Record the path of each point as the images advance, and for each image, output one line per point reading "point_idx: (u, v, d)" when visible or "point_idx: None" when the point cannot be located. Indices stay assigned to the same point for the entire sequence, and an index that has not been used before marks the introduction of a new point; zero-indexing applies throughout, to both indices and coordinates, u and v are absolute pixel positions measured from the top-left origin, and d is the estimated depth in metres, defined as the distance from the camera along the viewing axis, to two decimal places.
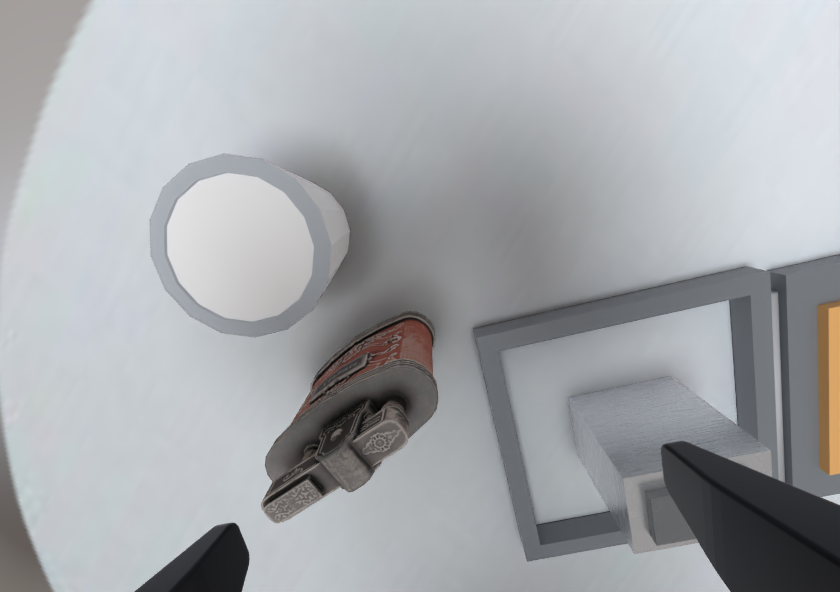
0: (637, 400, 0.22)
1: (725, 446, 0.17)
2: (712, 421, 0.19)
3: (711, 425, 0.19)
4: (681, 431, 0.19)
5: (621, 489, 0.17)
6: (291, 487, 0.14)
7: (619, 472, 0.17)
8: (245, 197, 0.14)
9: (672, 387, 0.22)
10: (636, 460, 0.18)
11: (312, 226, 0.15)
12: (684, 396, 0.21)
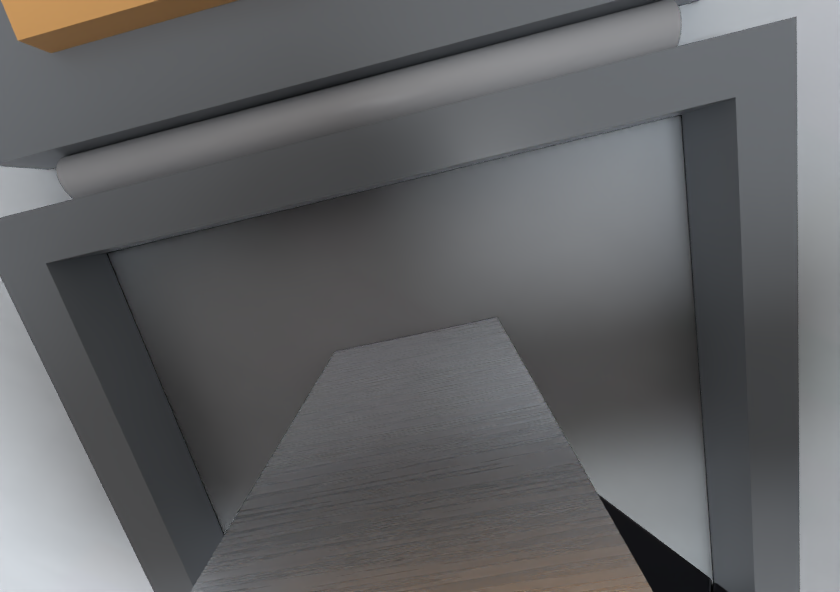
0: None
1: None
2: None
3: None
4: None
5: None
6: None
7: None
8: None
9: None
10: None
11: None
12: None
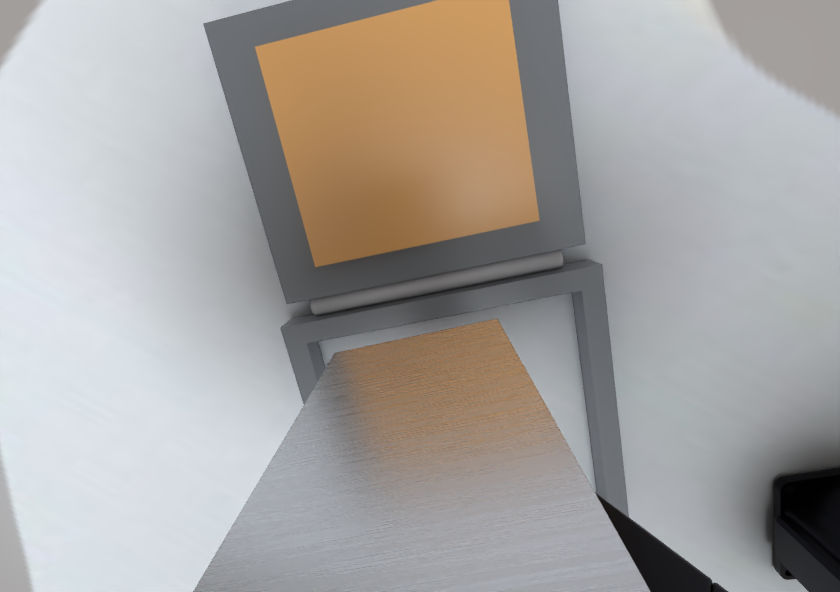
0: None
1: None
2: None
3: None
4: None
5: None
6: None
7: None
8: None
9: None
10: None
11: None
12: None
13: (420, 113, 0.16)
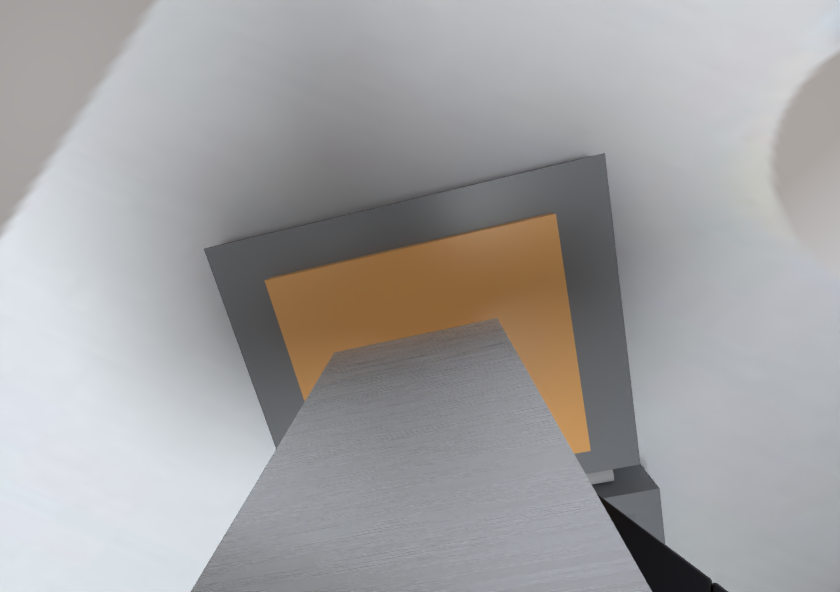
0: None
1: None
2: None
3: None
4: None
5: None
6: None
7: None
8: None
9: None
10: None
11: None
12: None
13: None
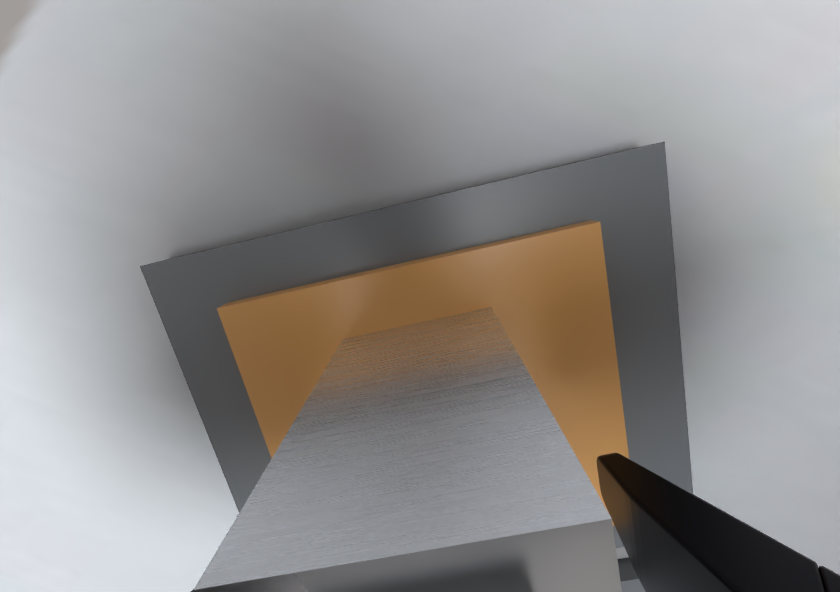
0: None
1: None
2: None
3: None
4: None
5: None
6: None
7: None
8: None
9: None
10: None
11: None
12: None
13: None
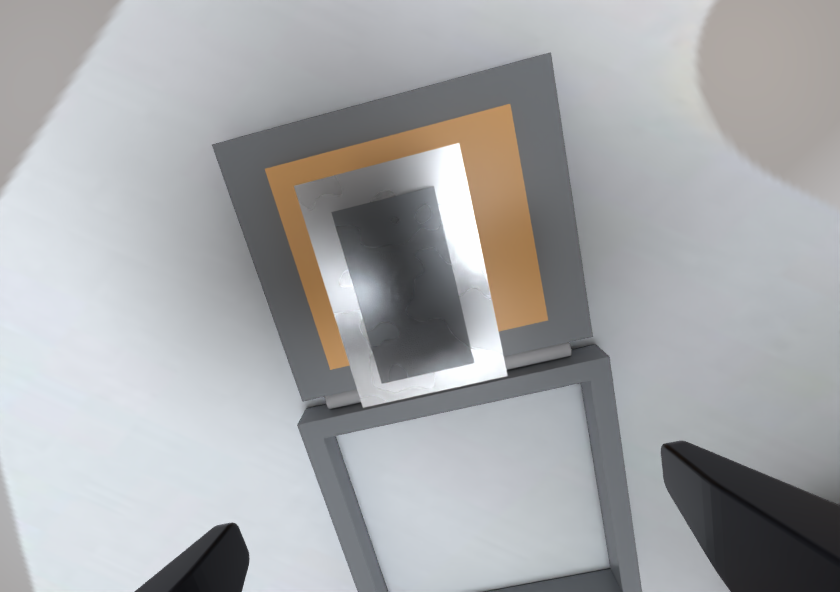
0: None
1: None
2: None
3: None
4: None
5: (393, 395, 0.11)
6: None
7: (364, 400, 0.11)
8: None
9: None
10: None
11: None
12: None
13: None
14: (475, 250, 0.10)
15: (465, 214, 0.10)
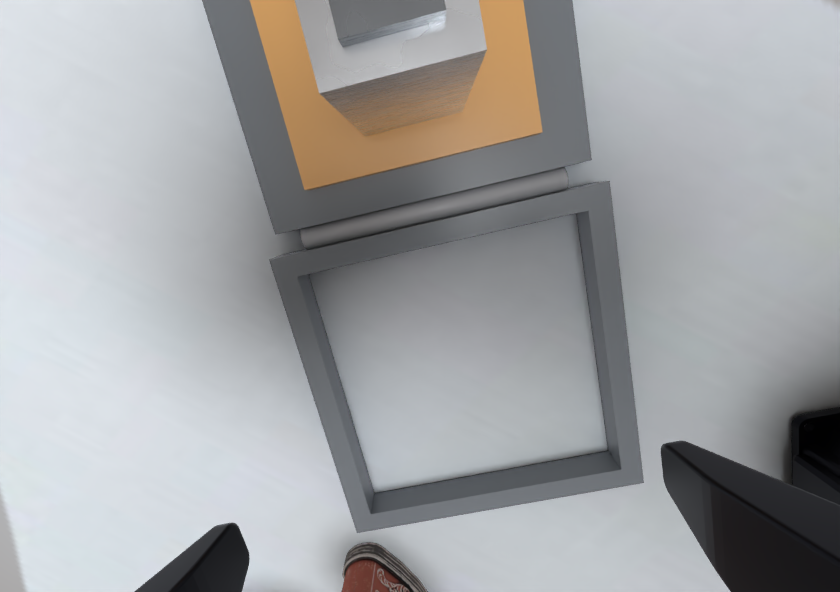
0: None
1: None
2: None
3: None
4: None
5: (355, 88, 0.10)
6: None
7: (323, 96, 0.10)
8: None
9: None
10: None
11: None
12: None
13: None
14: None
15: None
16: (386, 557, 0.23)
